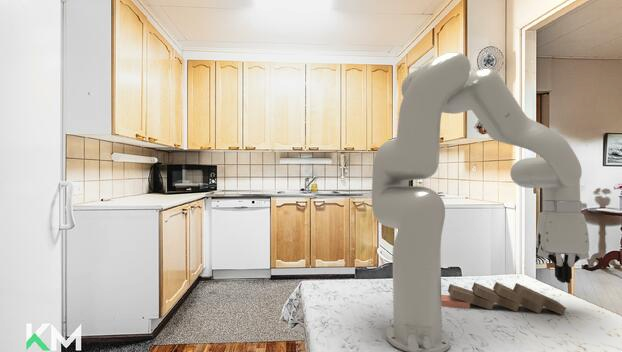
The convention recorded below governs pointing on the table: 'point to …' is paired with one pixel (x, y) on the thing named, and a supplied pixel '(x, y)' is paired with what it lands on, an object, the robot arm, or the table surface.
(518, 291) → the tile
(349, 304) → the table surface
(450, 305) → the red tile
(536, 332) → the table surface
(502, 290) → the tile
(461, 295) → the tile
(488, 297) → the tile
